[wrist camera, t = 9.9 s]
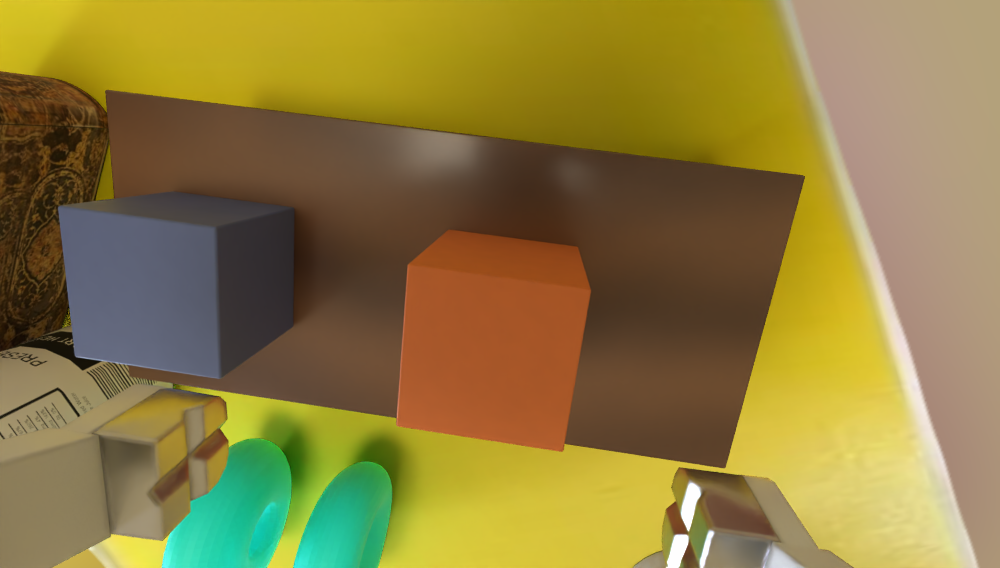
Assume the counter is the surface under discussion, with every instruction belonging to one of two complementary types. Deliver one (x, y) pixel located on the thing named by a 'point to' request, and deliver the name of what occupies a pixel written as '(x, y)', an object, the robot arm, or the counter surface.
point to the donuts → (282, 516)
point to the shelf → (492, 211)
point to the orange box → (492, 339)
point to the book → (41, 195)
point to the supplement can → (55, 384)
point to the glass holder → (652, 561)
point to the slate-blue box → (177, 280)
